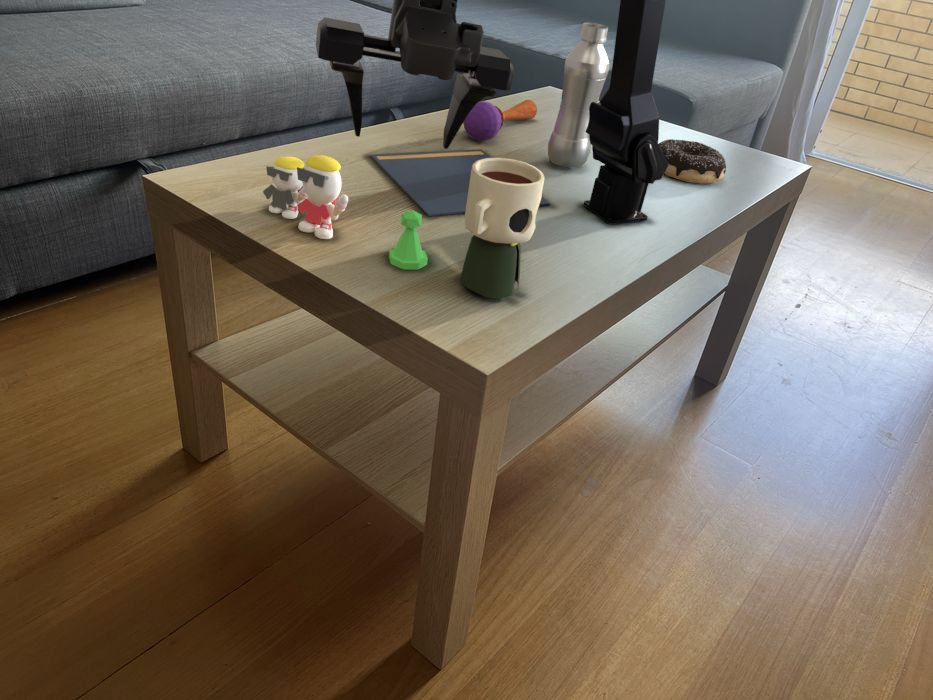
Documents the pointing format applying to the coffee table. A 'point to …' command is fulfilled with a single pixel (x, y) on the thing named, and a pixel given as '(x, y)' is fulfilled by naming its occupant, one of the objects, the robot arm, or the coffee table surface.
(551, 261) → the coffee table surface
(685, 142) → the donut
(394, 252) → the game piece
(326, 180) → the toy figures
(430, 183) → the napkin
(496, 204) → the character mug
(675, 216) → the coffee table surface
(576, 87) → the silver metal bottle
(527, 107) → the maraca
